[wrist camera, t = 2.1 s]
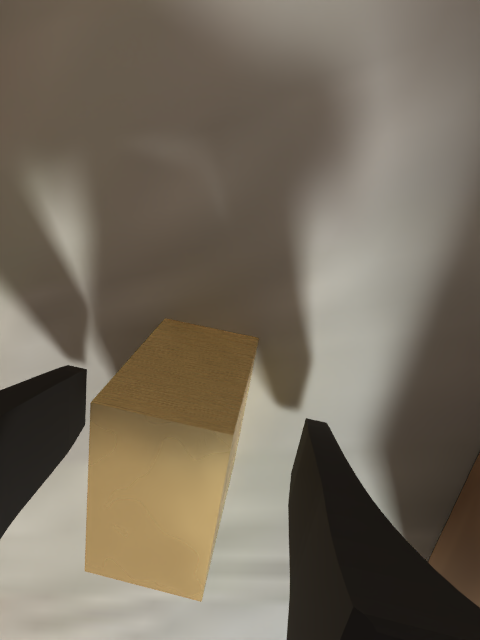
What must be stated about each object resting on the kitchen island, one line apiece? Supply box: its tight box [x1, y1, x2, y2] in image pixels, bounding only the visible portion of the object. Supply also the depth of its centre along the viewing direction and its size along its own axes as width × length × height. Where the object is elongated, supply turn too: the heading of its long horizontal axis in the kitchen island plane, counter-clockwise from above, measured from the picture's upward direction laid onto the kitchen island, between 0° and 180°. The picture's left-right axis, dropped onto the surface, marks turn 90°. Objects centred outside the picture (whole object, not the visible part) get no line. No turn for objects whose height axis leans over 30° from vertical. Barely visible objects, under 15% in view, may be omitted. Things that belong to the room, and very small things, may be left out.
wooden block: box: [85, 318, 259, 601], centre depth 12 cm, size 5×3×5 cm, turn 170°
